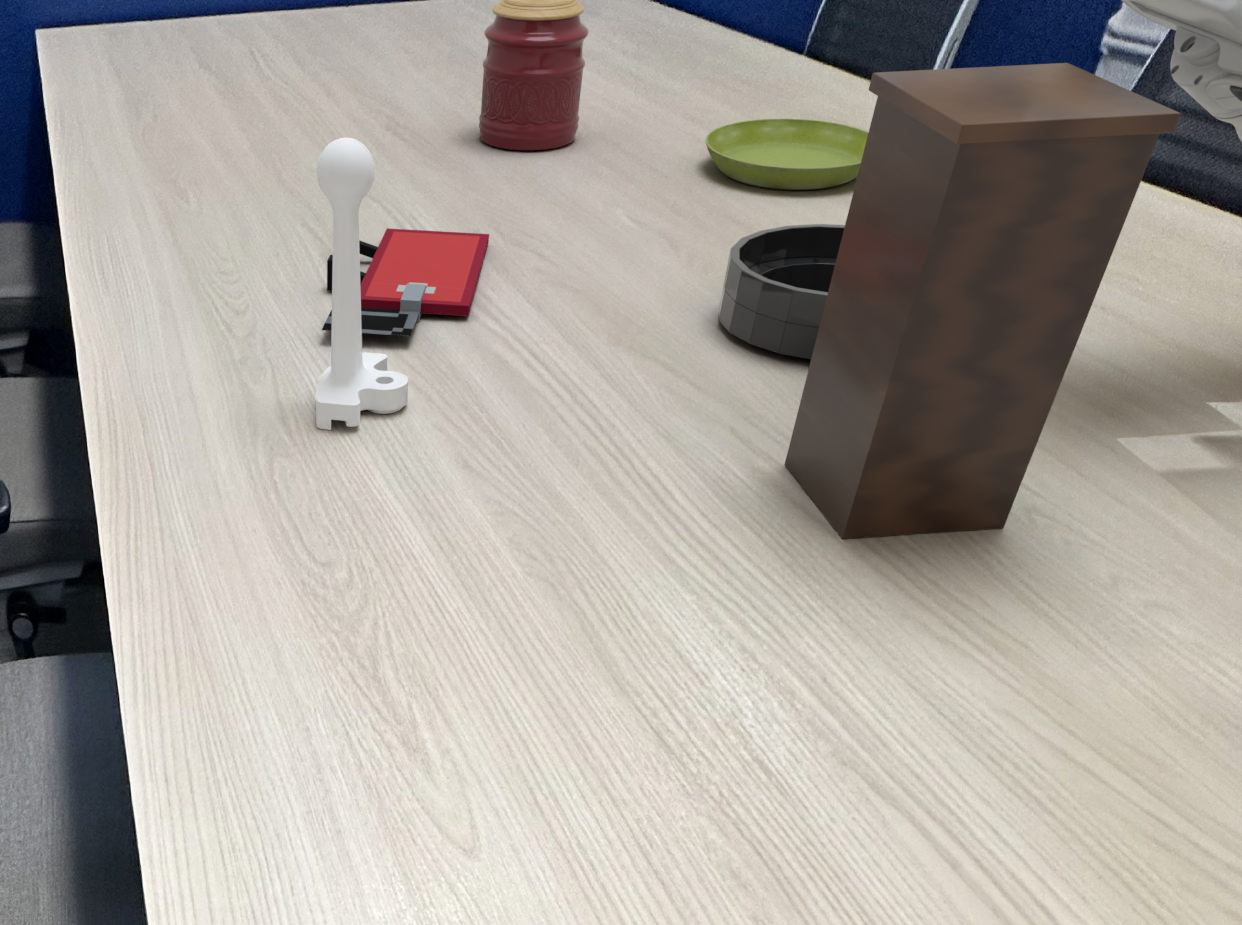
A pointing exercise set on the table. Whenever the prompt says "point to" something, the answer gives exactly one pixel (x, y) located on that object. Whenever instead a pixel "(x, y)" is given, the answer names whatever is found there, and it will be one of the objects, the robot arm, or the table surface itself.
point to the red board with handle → (416, 278)
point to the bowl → (780, 286)
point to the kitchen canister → (532, 74)
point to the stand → (963, 289)
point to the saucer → (788, 152)
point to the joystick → (351, 299)
